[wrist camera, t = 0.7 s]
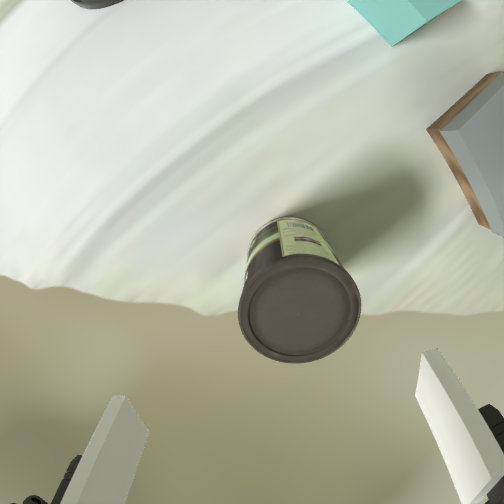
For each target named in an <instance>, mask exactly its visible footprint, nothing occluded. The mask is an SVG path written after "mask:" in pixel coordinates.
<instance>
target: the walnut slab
mask: <svg viewBox="0 0 504 504" xmlns="http://www.w3.org/2000/svg"><path fill="white" fill-rule="evenodd" d="M500 73H501V71H500V72H496V73H491V74H487V75H486V76H485V77H484V78H482V79H481V80H480V81H479V82H478V83H477V84H476V85H475V86H474V87H473V88H472V89H470V90H469V91H468V92H467V93H466V94H465V95H464V96H463V97H462V98H461V99H460V100H458V101H457V102H456V103H455V104H454V105H453V106H452V107H451V108H450V109H448V110H447V111H446V112H445V113H444V114H443V115H442V116H441V117H440V118H438V119H437V120H436V121H435V122H434V123H433V124H432V125H431V126H429V127H428V128H427V129H426V130H427V131H428V133H429V134H430V136H431V137H432V139H433V141H434V142H435V144H436V145H437V147H438V149H439V150H440V152H441V153H442V155H443V157H444V158H445V160H446V162H447V164H448V165H449V167H450V169H451V170H452V172H453V174H454V176H455V178H456V179H457V181H458V183H459V185H460V187H461V189H462V191H463V193H464V195H465V197H466V199H467V201H468V203H469V205H470V207H471V209H472V211H473V213H474V215H475V217H476V219H477V222H478V224H480V225H482V226H484V227H487V228H489V229H491V228H490V226H489V223H488V221H487V219H486V216H485V214H484V212H483V210H482V208H481V205H480V203H479V201H478V199H477V197H476V195H475V193H474V191H473V189H472V187H471V185H470V183H469V181H468V179H467V177H466V175H465V174H464V172H463V170H462V168H461V166H460V165H459V163H458V161H457V159H456V158H455V156H454V154H453V152H452V151H451V149H450V147H449V146H448V144H447V142H446V141H445V139H444V138H443V136H442V134H441V133H440V130H441V129H442V128H444V127H445V126H446V125H447V124H448V123H449V122H450V121H451V120H452V119H453V118H454V117H455V116H456V115H457V114H458V113H459V112H461V111H462V110H463V109H464V108H465V107H466V106H467V105H468V104H469V103H470V102H471V101H472V100H473V99H474V98H475V97H476V96H477V95H478V94H479V93H480V92H481V91H482V90H483V89H484V88H485V87H486V86H488V85H489V84H490V83H491V82H492V81H493V80H494V79H495V78H496V77H497V76H498V75H499V74H500Z"/></svg>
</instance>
